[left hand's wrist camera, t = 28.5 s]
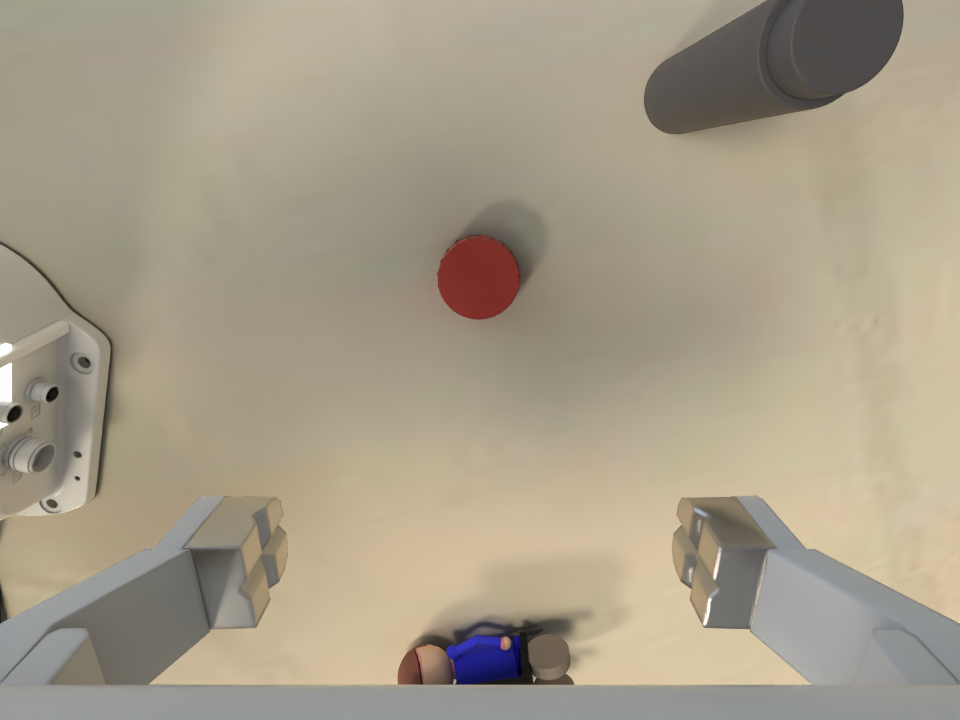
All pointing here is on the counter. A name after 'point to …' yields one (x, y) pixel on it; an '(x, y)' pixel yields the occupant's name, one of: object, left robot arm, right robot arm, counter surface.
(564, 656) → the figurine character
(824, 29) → the jar
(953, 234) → the counter surface
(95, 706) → the left robot arm
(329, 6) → the counter surface
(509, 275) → the lid
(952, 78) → the counter surface
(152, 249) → the counter surface
